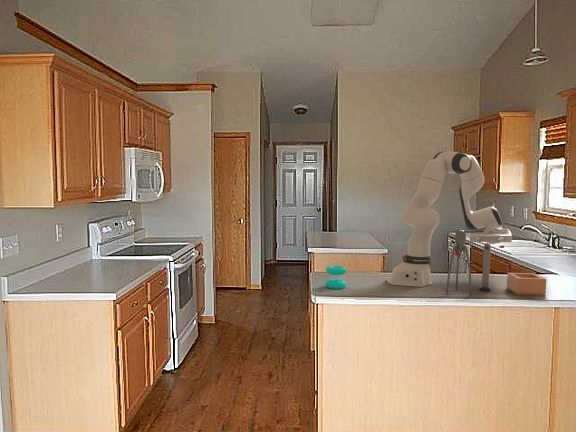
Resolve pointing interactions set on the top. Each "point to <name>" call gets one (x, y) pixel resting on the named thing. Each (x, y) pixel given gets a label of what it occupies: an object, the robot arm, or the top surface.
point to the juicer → (460, 242)
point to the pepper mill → (486, 269)
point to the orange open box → (526, 284)
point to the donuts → (336, 282)
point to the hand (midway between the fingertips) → (488, 241)
